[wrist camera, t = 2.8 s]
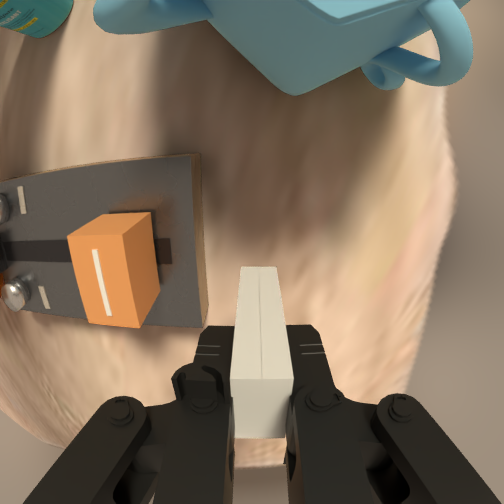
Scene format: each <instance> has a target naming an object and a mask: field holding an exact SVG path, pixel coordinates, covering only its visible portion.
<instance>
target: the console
mask: <svg viewBox="0 0 504 504" xmlns="http://www.w3.org/2000/svg"><path fill="white" fill-rule="evenodd" d="M143 212H151V221H152V231H153V240H154V248H155V256H156V264H157V271H158V278H159V285H160V293H159V294H158V296H157V298H156V300H155V302H154V303H153V305H152V307H151V309H150V311H149V313H148V314H147V316H146V318H145V320H144V322H143V325H157V326H174V327H195V328H203V325H204V321H205V317H206V313H207V309H208V305H209V304H208V291H207V278H206V264H205V249H204V231H203V212H202V188H201V154H200V153H197V154H179V155H164V156H152V157H141V158H131V159H122V160H113V161H105V162H98V163H91V164H84V165H77V166H71V167H65V168H60V169H54V170H49V171H44V172H39V173H34V174H29V175H24V176H20V177H15V178H11V179H7V180H4V181H0V274H1V273H2V274H3V277H4V281H5V285H4V286H3V287H2V288H1V295H2V298H3V300H4V302H5V304H6V305H7V306H8V307H9V308H10V309H11V310H12V311H15V312H17V311H19V310H20V309H21V310H26V311H32V312H39V313H45V314H52V315H59V316H66V317H73V318H81V319H88V318H87V315H86V312H85V309H84V305H83V302H82V298H81V295H80V291H79V287H78V283H77V280H76V276H75V271H74V267H73V263H72V258H71V254H70V249H69V244H68V239H67V236H68V235H69V234H71V233H73V232H74V231H76V230H77V229H79V228H81V227H82V226H84V225H86V224H87V223H89V222H91V221H92V220H94V219H96V218H97V217H99V216H101V215H102V214H120V213H143Z"/></svg>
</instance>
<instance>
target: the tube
mask: <svg viewBox="0 0 504 504" xmlns="http://www.w3.org/2000/svg"><path fill="white" fill-rule="evenodd" d="M72 6H73V0H0V26H1V27H5V28H8V29H11V30H14V31H17V32H20V33H23V34H26V35H29V36H32V37H35V38H42V37H45V36H47V35H49V34H51V33H52V32H54V31H55V30H56V29H57V28H58V27H59V26H60V25H61V24H62V23H63V22H64V20H65V19H66V18H67V16H68V15H69V13H70V11H71V8H72Z"/></svg>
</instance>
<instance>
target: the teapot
mask: <svg viewBox="0 0 504 504" xmlns="http://www.w3.org/2000/svg"><path fill="white" fill-rule="evenodd" d="M469 1H470V0H97V1H96V3H95V5H94V8H93V15H94V21H95V22H96V24H97V25H98V26H99V27H100V28H101V29H103V30H104V31H105V32H109V33H114V34H141V33H148V32H153V31H158V30H163V29H167V28H171V27H176V26H180V25H185V24H189V23H194V22H199V21H203V20H207V21H208V22H209V23H210V24H211V25H212V26H213V27H214V28H215V29H216V30H217V31H218V32H219V33H220V34H221V35H222V36H223V37H224V38H225V39H226V40H227V41H228V42H229V43H230V44H231V45H232V46H233V47H234V48H236V49H237V50H238V51H239V52H240V53H241V54H242V55H243V56H244V57H245V58H246V59H247V60H248V61H249V62H250V63H251V64H252V65H253V66H254V67H255V68H256V69H257V70H258V71H259V72H261V73H262V74H263V75H264V76H265V77H266V78H267V79H268V80H269V81H270V82H271V83H272V84H273V85H274V86H276V87H277V88H278V89H280V90H281V91H283V92H284V93H287V94H289V95H293V96H298V95H301V94H304V93H307V92H310V91H312V90H314V89H316V88H317V87H319V86H321V85H323V84H325V83H327V82H330V81H332V80H334V79H336V78H338V77H340V76H342V75H344V74H346V73H348V72H350V71H352V70H354V69H356V68H358V67H361V70H362V71H363V73H364V75H365V76H366V77H367V78H368V80H369V81H370V82H371V83H372V84H373V85H374V86H375V87H377V88H379V89H382V90H393V89H397V88H399V87H400V86H401V85H402V84H403V83H404V81H405V77H406V78H409V79H411V80H414V81H416V82H419V83H422V84H425V85H430V86H447V85H450V84H453V83H455V82H457V81H459V80H460V79H462V78H463V77H464V76H465V74H466V73H467V72H468V70H469V68H470V66H471V63H472V59H473V43H472V37H471V33H470V30H469V27H468V25H467V22H466V20H465V18H464V16H463V15H462V13H461V11H460V10H459V9H461V8H462V7H463V6H464V5H465V4H466V3H468V2H469ZM430 29H432V31H433V34H434V36H435V38H436V41H437V44H438V47H439V52H440V61H438V60H434V59H430V58H427V57H425V56H422V55H419V54H417V53H414V52H411V51H409V50H406V49H403V48H400V47H399V46H401V45H402V44H404V43H406V42H408V41H410V40H412V39H414V38H415V37H417V36H419V35H421V34H423V33H425V32H427V31H429V30H430Z"/></svg>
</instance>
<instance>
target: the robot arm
mask: <svg viewBox="0 0 504 504" xmlns="http://www.w3.org/2000/svg"><path fill="white" fill-rule="evenodd" d="M171 380H172V384H173V388H174V391H175V395H176V400H174V401H172V402H170V403H167V404H163V405H156V406H148V407H144V406H143V404H142V403H141V402H140V401H138V400H137V399H135V398H133V397H128V396H119V397H114V398H112V399H109V400H107V401H106V402H105V403H104V404H102V405H101V406H100V408H99V409H98V410H97V411H96V412H95V414H94V415H93V416H92V417H91V418H90V420H89V421H88V422H87V423H86V425H85V426H84V427H83V428H82V430H81V431H80V432H79V433H78V434H77V436H76V437H75V438H74V439H73V441H72V442H71V443H70V444H69V446H68V447H67V448H66V449H65V451H64V452H63V453H62V454H61V456H60V457H59V458H58V459H57V461H56V462H55V463H54V464H53V466H52V467H51V468H50V469H49V471H48V472H47V473H46V474H45V476H44V477H43V478H42V479H41V481H40V482H39V483H38V485H37V486H36V487H35V488H34V490H33V491H32V492H31V494H30V495H29V496H28V497H27V499H26V500H25V501H24V503H23V504H149V502H150V500H151V498H152V496H153V494H154V493H155V496H154V500H153V504H232V499H233V498H232V497H233V479H234V460H235V451H234V438H285V435H286V439H287V447H286V453H285V458H284V463H283V464H286V468H287V481H288V497H289V504H501V502H500V501H499V500H498V499H497V497H496V496H495V495H494V493H493V492H492V491H491V489H490V488H489V487H488V486H487V484H486V483H485V482H484V480H483V479H482V478H481V477H480V475H479V474H478V473H477V472H476V470H475V469H474V468H473V467H472V465H471V464H470V463H469V462H468V460H467V459H466V458H465V457H464V455H463V454H462V453H461V452H460V450H459V449H458V448H457V447H456V446H455V444H454V443H453V442H452V441H451V440H450V438H449V437H448V436H447V435H446V434H445V432H444V431H443V430H442V429H441V427H440V426H439V425H438V424H437V423H436V422H435V420H434V419H433V418H432V417H431V415H430V414H429V413H428V412H427V411H426V410H425V409H424V407H423V406H422V405H421V404H420V403H419V402H418V401H417V400H416V399H415V398H413V397H411V396H409V395H406V394H398V393H396V394H391V395H387V396H386V397H384V398H383V399H381V401H380V402H379V404H378V405H376V404H367V403H360V402H355V401H352V400H350V399H347V398H345V397H344V395H343V393H342V392H341V391H339V390H338V389H337V388H336V387H335V385H334V382H333V378H332V375H331V371H330V368H329V365H328V361H327V358H326V354H325V351H324V348H323V345H322V341H321V338H320V334H319V332H318V331H317V330H316V329H315V328H314V327H313V326H312V325H286V324H285V318H284V311H283V305H282V299H281V293H280V286H279V280H278V274H277V268H276V267H241V272H240V281H239V291H238V301H237V311H236V321H235V326H208V327H207V328H206V329H205V330H204V331H203V332H202V333H201V334H200V337H199V341H198V346H197V349H196V355H195V357H194V361H193V363H190V364H187V365H184V366H182V367H181V368H179V369H178V370H177V371H175V373H174V375H173V376H172V378H171Z"/></svg>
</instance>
